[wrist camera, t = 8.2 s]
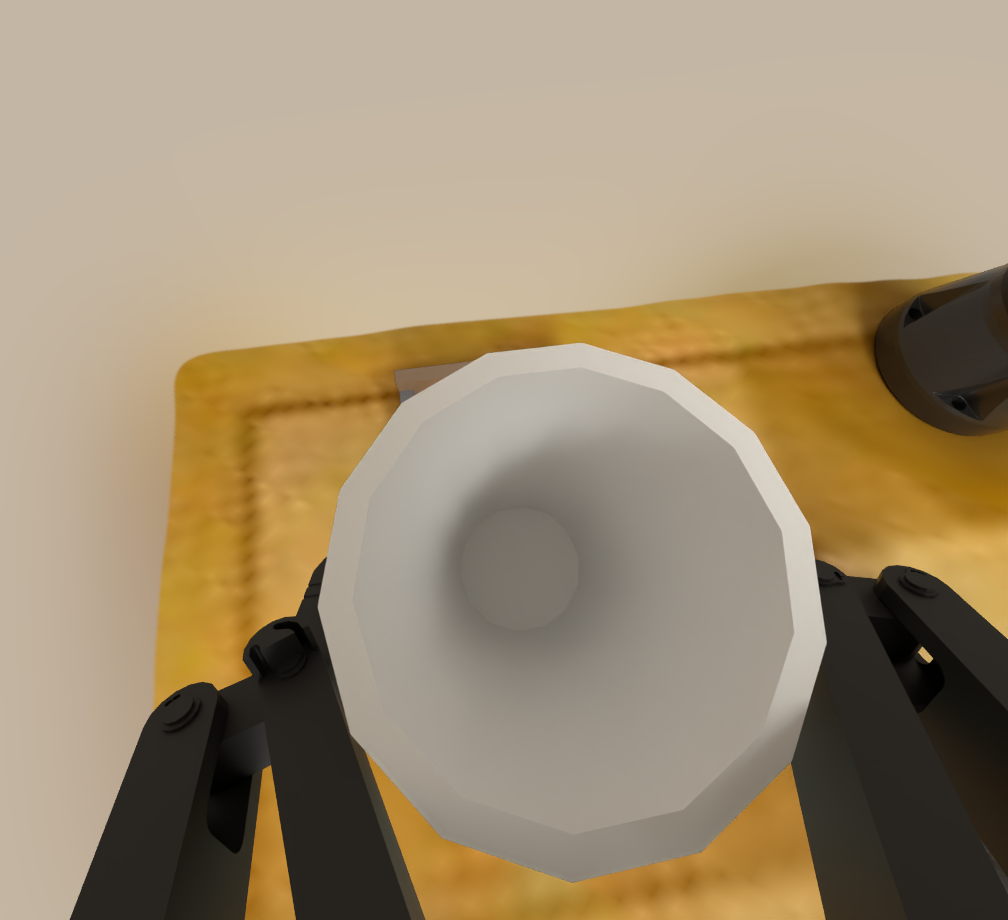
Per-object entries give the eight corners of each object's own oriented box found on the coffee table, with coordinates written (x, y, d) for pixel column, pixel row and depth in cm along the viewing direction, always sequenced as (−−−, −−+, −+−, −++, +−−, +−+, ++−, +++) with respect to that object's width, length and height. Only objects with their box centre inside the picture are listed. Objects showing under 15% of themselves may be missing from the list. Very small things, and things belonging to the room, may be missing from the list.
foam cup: (492, 711, 18) (511, 1043, 5) (391, 543, 20) (230, 502, 7) (646, 589, 20) (925, 626, 7) (540, 445, 22) (617, 277, 9)
